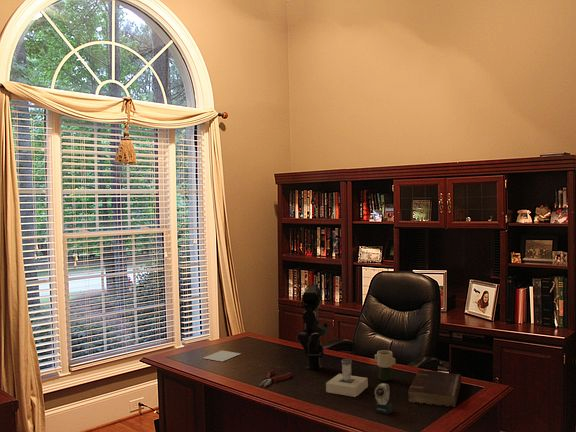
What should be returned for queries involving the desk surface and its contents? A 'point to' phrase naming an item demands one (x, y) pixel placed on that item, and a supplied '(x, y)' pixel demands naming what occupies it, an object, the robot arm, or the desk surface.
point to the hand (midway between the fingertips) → (311, 350)
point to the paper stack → (221, 355)
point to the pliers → (274, 378)
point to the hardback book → (435, 388)
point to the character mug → (385, 364)
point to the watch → (382, 399)
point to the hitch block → (347, 385)
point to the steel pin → (346, 370)
